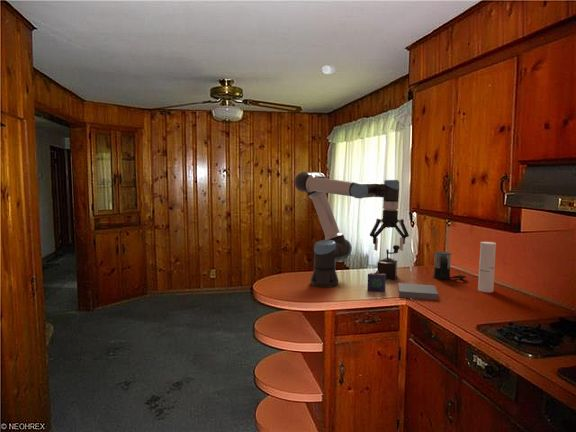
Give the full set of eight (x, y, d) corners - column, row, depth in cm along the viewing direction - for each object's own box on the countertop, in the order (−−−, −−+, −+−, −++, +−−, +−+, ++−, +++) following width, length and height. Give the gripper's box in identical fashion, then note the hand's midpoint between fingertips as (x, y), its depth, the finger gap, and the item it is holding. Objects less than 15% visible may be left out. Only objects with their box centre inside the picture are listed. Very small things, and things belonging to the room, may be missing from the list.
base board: (399, 297, 198) (399, 291, 197) (398, 288, 212) (398, 283, 212) (437, 300, 193) (438, 293, 193) (434, 291, 208) (434, 285, 208)
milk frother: (430, 275, 239) (431, 251, 237) (456, 275, 240) (457, 250, 239) (441, 282, 225) (442, 256, 223) (468, 281, 226) (470, 255, 225)
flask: (384, 290, 209) (385, 270, 208) (386, 292, 206) (386, 271, 205) (366, 290, 210) (367, 269, 208) (367, 291, 207) (368, 271, 206)
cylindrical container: (496, 292, 206) (499, 244, 204) (482, 292, 206) (485, 244, 203) (488, 288, 213) (491, 241, 211) (475, 288, 213) (477, 241, 210)
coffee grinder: (396, 280, 228) (397, 249, 226) (376, 278, 232) (377, 247, 230) (399, 274, 243) (400, 244, 241) (380, 272, 247) (381, 243, 245)
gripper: (369, 210, 203) (367, 251, 205) (416, 210, 205) (414, 251, 208) (364, 208, 210) (363, 248, 213) (410, 209, 213) (408, 248, 215)
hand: (388, 250), depth 210 cm, fingers open, 13 cm apart
